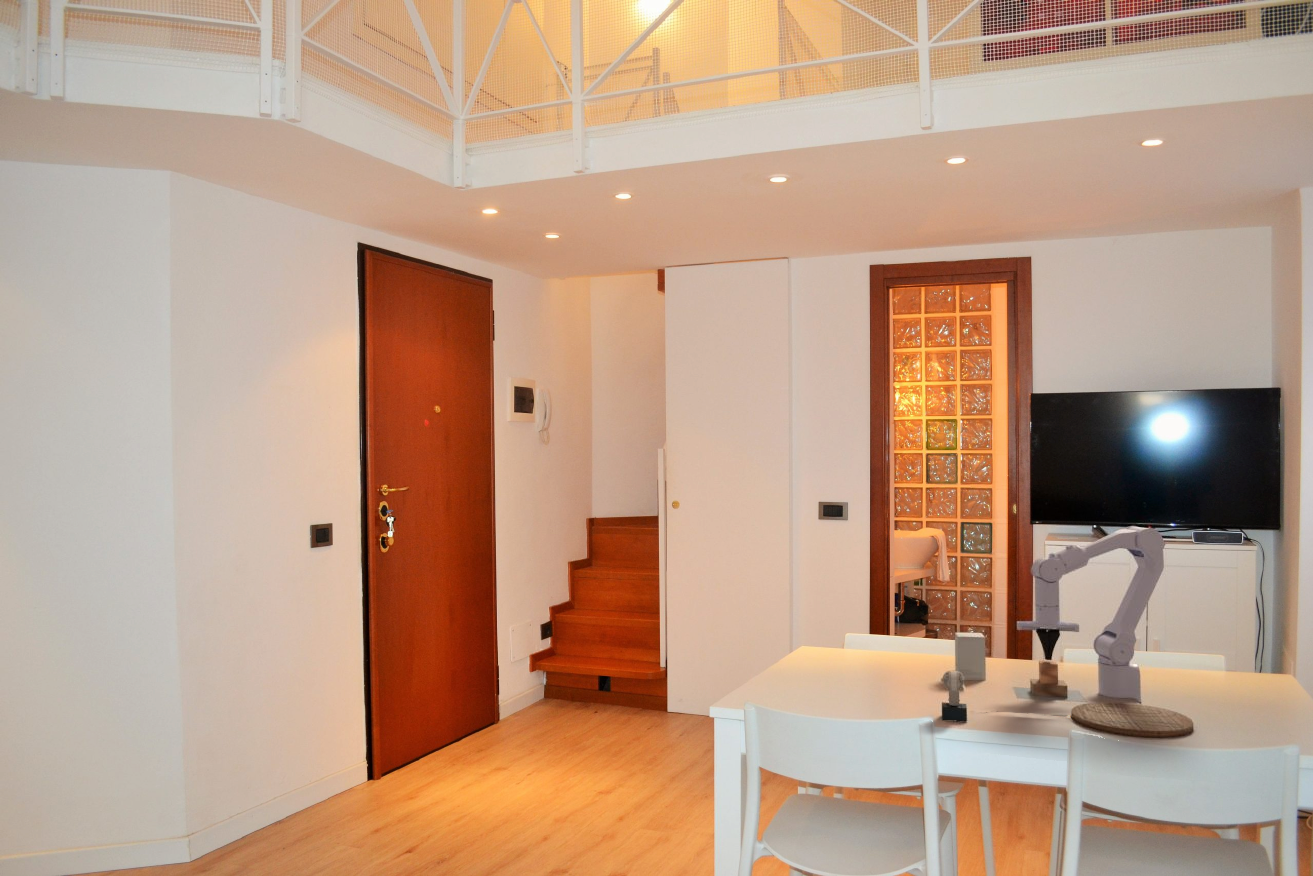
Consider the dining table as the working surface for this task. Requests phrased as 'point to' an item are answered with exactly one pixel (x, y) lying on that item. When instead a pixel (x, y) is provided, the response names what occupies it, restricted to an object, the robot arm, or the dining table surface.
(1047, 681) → the terracotta block
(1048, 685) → the brown block
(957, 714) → the watch
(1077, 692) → the plate
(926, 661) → the dining table surface
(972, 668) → the supplement box
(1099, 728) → the trivet
